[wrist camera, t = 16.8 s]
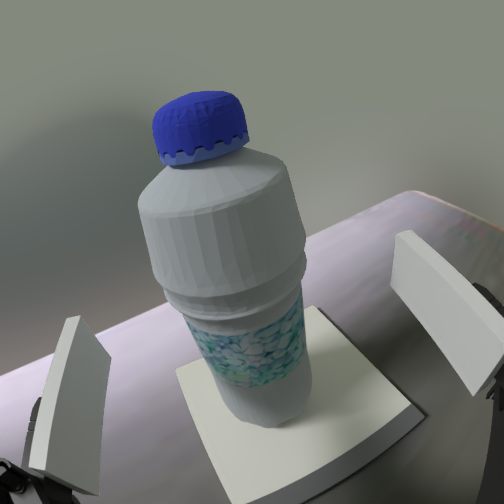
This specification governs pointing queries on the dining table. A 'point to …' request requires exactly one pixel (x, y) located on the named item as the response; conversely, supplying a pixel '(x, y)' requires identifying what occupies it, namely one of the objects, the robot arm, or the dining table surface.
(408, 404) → the mat
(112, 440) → the dining table surface
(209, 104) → the bottle
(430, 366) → the dining table surface
